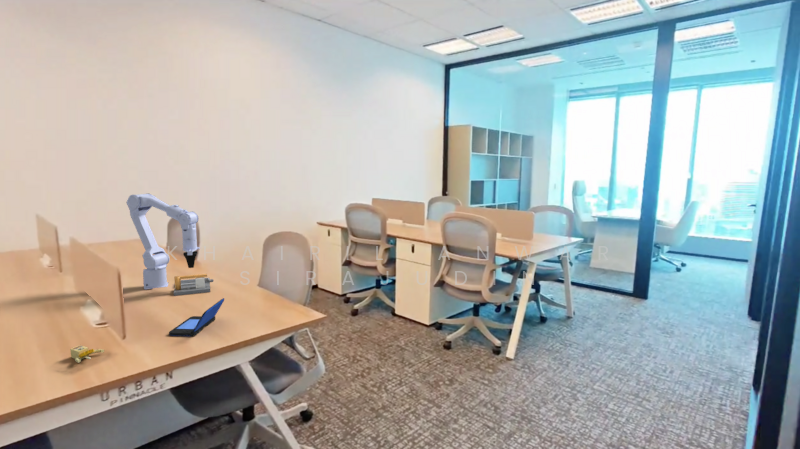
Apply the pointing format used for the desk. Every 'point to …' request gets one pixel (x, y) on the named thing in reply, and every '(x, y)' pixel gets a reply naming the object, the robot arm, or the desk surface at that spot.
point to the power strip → (191, 290)
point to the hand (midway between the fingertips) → (191, 267)
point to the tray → (191, 282)
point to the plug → (202, 282)
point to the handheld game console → (196, 322)
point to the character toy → (82, 352)
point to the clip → (178, 278)
